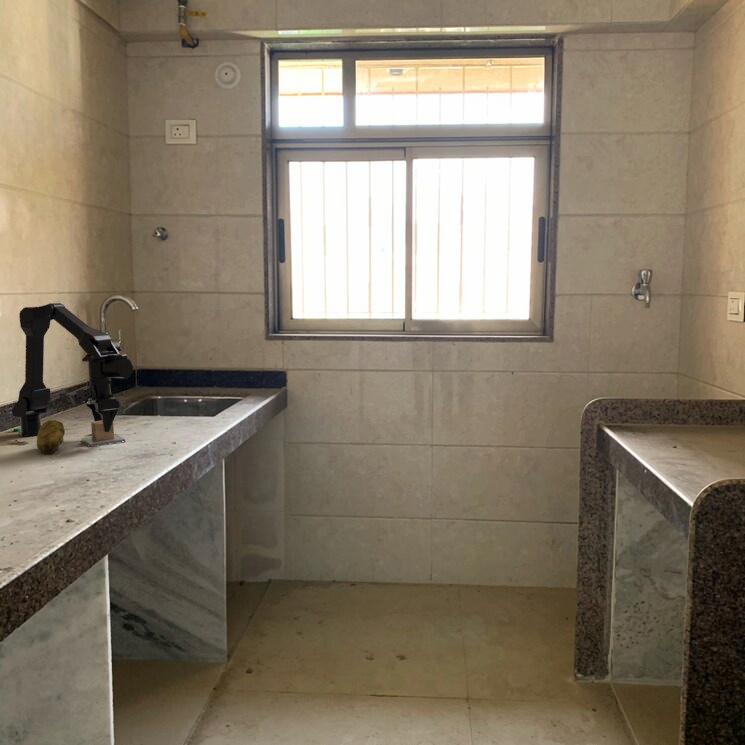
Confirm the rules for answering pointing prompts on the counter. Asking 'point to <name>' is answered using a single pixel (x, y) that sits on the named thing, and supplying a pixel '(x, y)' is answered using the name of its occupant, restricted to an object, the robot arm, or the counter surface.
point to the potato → (50, 436)
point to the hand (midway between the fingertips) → (102, 429)
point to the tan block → (101, 431)
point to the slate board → (92, 442)
